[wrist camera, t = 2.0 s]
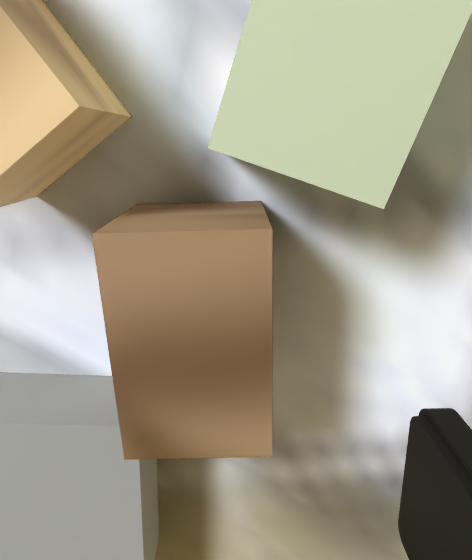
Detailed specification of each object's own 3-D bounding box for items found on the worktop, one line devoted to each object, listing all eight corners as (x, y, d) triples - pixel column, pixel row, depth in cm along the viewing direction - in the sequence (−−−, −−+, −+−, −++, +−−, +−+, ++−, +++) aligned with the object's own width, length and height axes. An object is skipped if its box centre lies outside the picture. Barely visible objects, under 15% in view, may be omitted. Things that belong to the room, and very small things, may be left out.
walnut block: (137, 203, 15) (91, 233, 10) (260, 200, 15) (272, 228, 10) (154, 372, 17) (124, 459, 13) (262, 369, 17) (272, 456, 13)
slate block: (-10, 367, 18) (-67, 420, 14) (156, 373, 18) (137, 427, 14) (18, 528, 20) (-25, 603, 17) (160, 532, 20) (145, 607, 17)
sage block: (288, -92, 12) (321, -237, 8) (425, -34, 13) (538, -137, 8) (217, 144, 14) (207, 147, 10) (336, 186, 15) (383, 209, 10)
